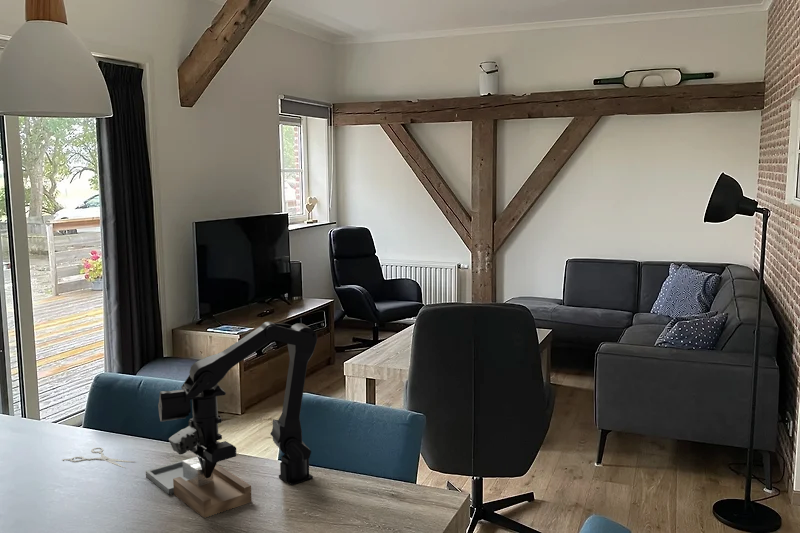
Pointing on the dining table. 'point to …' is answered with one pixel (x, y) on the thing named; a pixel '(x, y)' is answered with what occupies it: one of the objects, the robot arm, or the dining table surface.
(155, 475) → the tray
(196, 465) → the brushed metal block
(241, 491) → the slot block
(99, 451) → the scissors
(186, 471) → the grey metal cube
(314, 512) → the dining table surface
